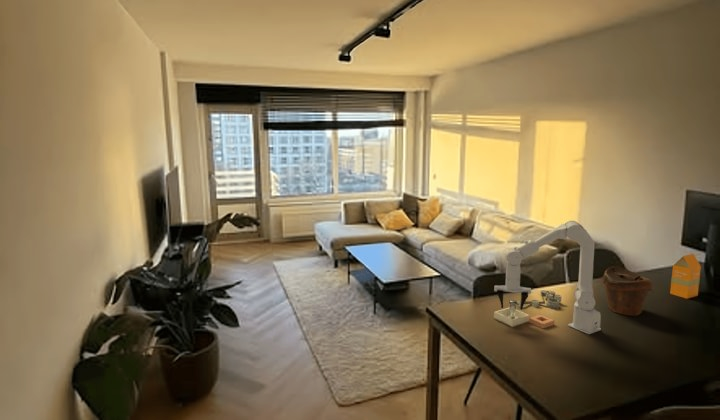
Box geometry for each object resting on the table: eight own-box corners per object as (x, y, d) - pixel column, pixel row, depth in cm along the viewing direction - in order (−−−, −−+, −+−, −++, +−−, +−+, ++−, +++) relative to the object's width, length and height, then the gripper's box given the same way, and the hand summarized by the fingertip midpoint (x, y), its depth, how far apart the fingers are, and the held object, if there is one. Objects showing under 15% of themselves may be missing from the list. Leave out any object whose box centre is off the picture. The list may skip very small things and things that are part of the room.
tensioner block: (554, 324, 177) (554, 320, 177) (543, 328, 174) (543, 324, 173) (540, 318, 183) (540, 314, 183) (528, 322, 180) (529, 317, 179)
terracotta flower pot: (651, 322, 177) (654, 281, 174) (596, 311, 189) (599, 272, 186) (653, 309, 191) (657, 270, 188) (603, 299, 203) (605, 263, 200)
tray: (528, 321, 180) (529, 314, 180) (512, 327, 176) (512, 320, 175) (510, 313, 189) (510, 307, 189) (493, 318, 184) (494, 311, 184)
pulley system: (574, 302, 202) (545, 292, 214) (575, 293, 200) (545, 283, 212) (540, 320, 186) (511, 307, 198) (541, 310, 185) (512, 298, 197)
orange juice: (669, 293, 208) (673, 254, 205) (680, 290, 212) (684, 251, 208) (687, 298, 201) (692, 258, 198) (698, 295, 205) (702, 255, 201)
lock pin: (517, 319, 182) (518, 301, 180) (512, 321, 180) (513, 303, 179) (511, 316, 184) (512, 299, 183) (506, 318, 183) (507, 300, 181)
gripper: (495, 279, 177) (494, 310, 180) (532, 282, 173) (530, 313, 176) (494, 274, 184) (493, 303, 186) (530, 276, 180) (529, 306, 182)
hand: (511, 308), depth 181 cm, fingers open, 7 cm apart
